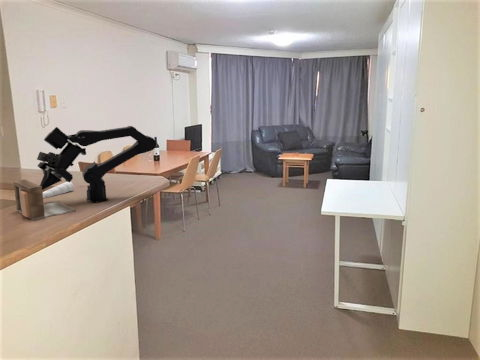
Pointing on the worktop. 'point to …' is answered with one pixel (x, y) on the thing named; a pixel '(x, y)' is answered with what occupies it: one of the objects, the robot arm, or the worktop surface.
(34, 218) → the socket block
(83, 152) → the robot arm
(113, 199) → the worktop surface
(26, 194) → the terracotta plug
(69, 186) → the unicorn horn
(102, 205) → the worktop surface
